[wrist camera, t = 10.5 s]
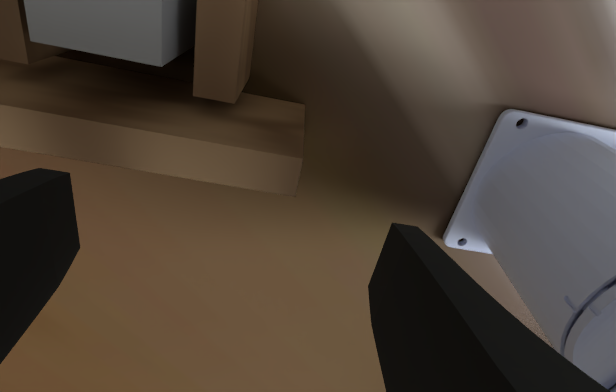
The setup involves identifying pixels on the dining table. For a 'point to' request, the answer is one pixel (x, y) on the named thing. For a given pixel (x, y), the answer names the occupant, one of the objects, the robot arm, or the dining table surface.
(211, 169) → the plank with two pegs
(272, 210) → the dining table surface
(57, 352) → the dining table surface
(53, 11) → the rail
